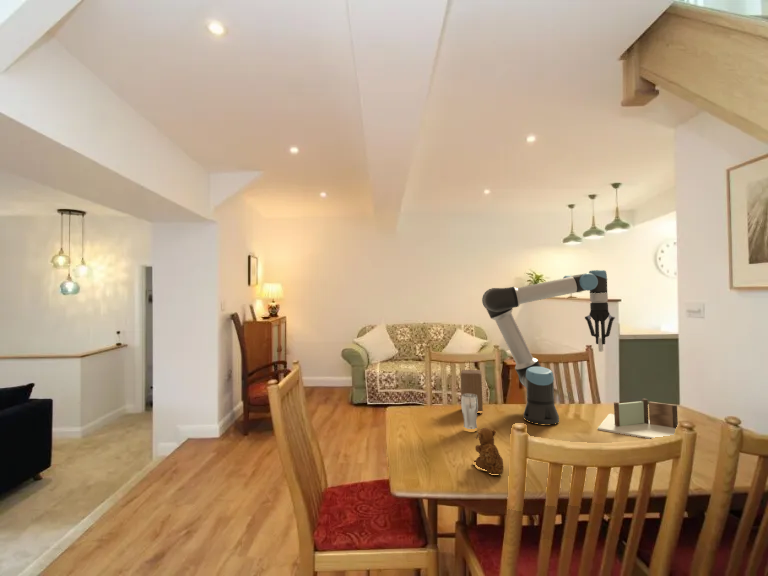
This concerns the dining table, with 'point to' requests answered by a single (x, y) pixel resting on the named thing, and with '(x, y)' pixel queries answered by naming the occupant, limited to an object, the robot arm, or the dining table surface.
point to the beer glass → (469, 410)
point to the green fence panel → (628, 413)
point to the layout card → (636, 428)
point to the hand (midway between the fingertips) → (601, 351)
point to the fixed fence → (660, 414)
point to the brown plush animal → (488, 452)
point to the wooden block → (472, 385)
